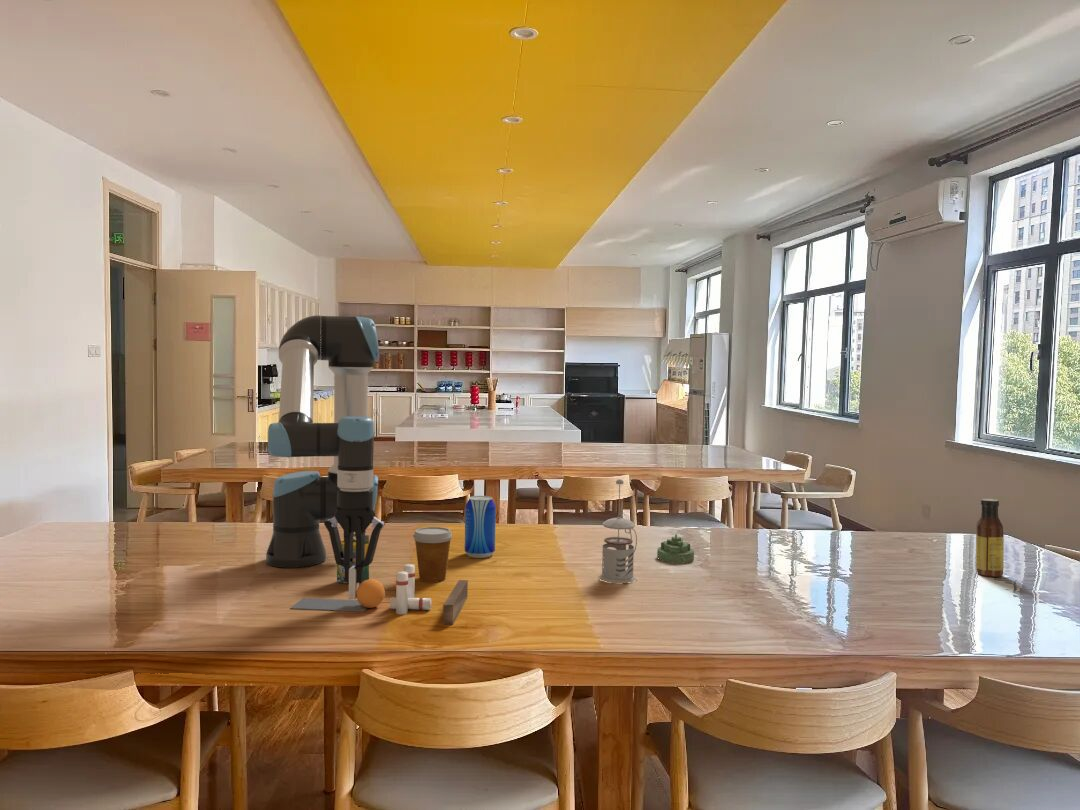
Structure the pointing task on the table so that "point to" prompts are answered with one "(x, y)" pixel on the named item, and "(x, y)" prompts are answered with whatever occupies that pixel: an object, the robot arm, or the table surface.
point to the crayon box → (342, 570)
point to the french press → (618, 551)
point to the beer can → (480, 526)
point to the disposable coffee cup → (432, 552)
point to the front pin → (414, 603)
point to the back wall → (455, 602)
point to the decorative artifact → (675, 551)
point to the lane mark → (329, 605)
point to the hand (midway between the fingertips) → (353, 597)
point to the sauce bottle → (989, 540)
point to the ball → (370, 593)
